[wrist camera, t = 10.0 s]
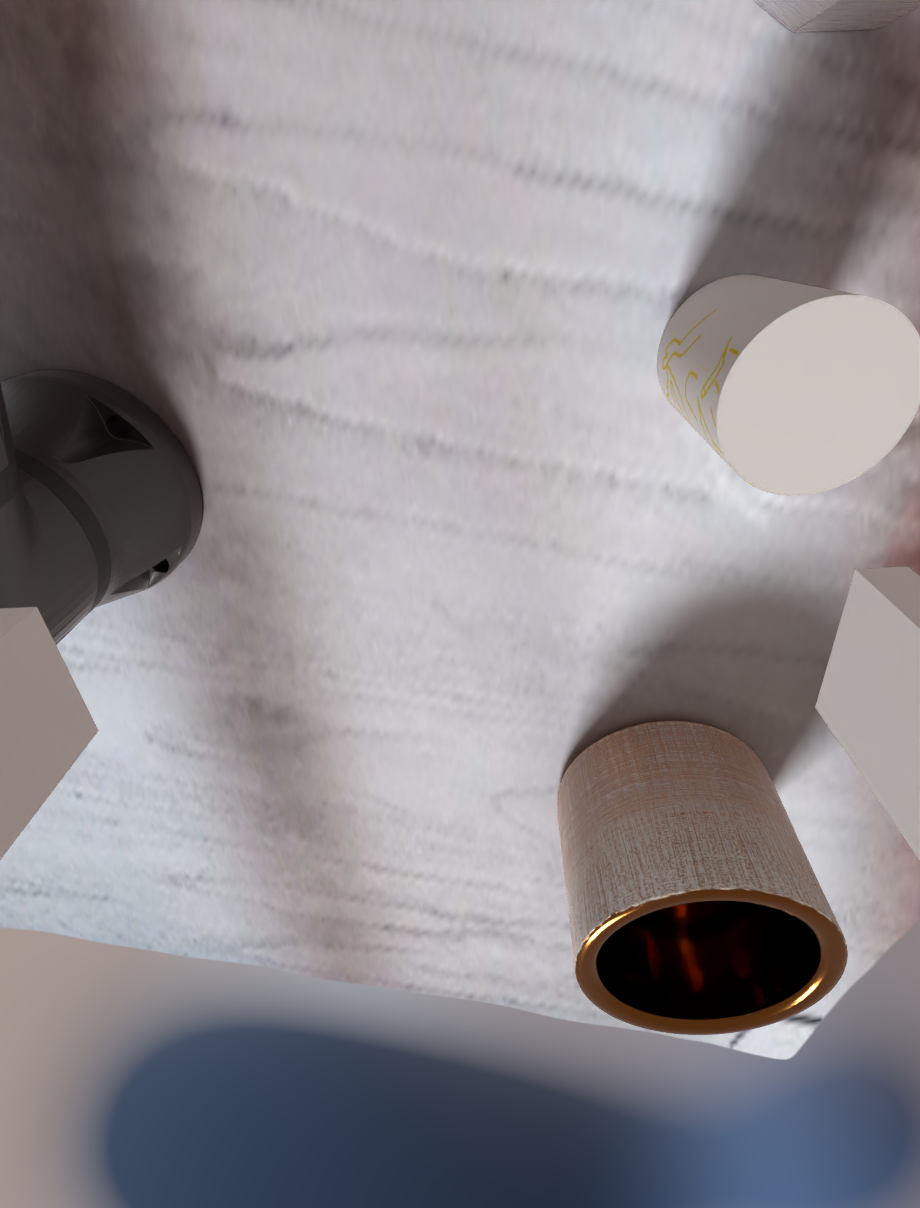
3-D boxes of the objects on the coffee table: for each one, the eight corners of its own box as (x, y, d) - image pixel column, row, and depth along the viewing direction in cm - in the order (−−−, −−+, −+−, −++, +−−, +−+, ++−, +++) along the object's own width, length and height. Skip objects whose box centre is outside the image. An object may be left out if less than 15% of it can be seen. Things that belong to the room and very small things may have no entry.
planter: (807, 787, 54) (908, 974, 40) (647, 879, 61) (688, 1062, 48) (670, 675, 48) (734, 847, 35) (514, 791, 56) (518, 968, 43)
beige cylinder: (643, 308, 35) (701, 341, 25) (795, 249, 33) (925, 259, 23) (671, 442, 39) (731, 518, 29) (809, 396, 37) (926, 461, 27)
